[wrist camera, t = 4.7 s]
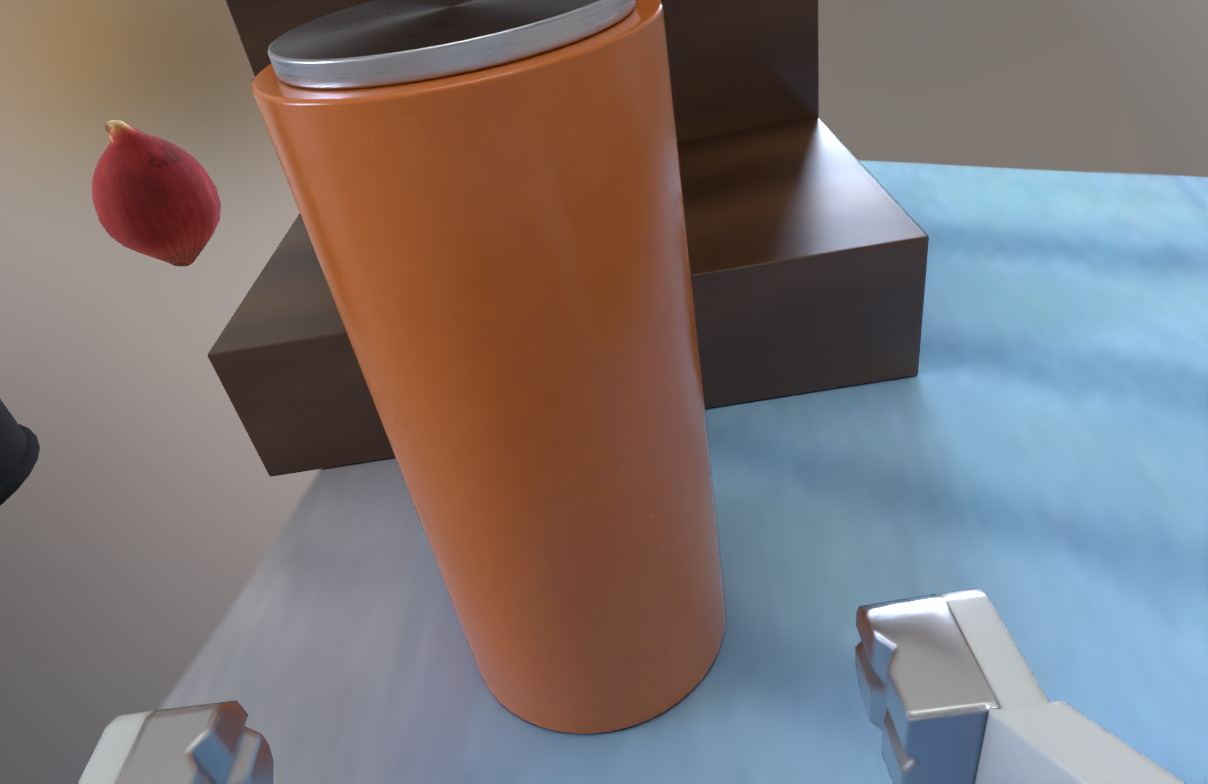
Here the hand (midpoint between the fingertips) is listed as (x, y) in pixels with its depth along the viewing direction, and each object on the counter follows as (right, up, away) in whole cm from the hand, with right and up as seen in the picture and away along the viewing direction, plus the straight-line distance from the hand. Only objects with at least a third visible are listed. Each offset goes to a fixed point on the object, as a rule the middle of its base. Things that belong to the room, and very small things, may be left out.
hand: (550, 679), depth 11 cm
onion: (-22, +11, +34) cm, 42 cm away
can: (+1, -2, +10) cm, 10 cm away
